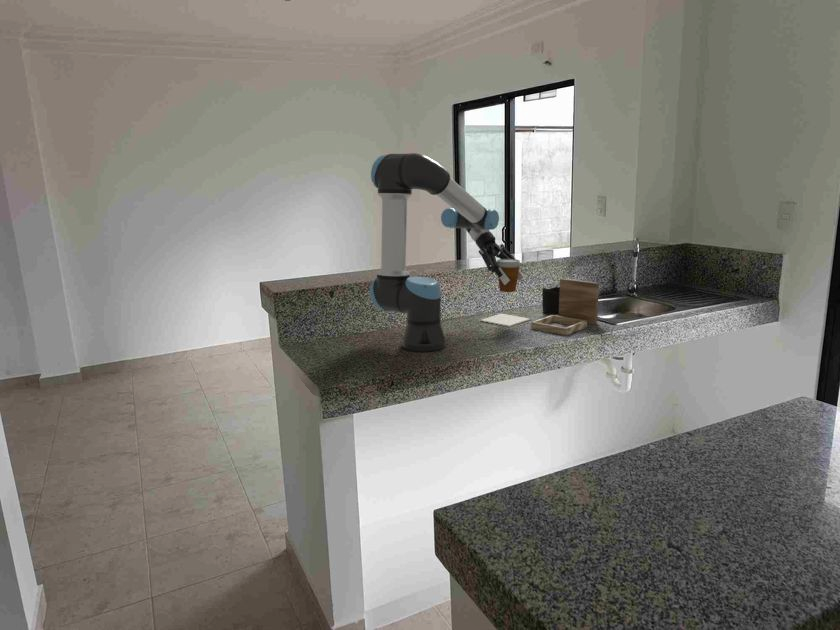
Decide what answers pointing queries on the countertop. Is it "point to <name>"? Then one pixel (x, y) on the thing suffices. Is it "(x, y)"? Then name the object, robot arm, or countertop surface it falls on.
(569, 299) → the brown wooden l-shaped tray
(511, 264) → the disposable coffee cup
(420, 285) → the robot arm
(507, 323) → the mat
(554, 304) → the pen holder
